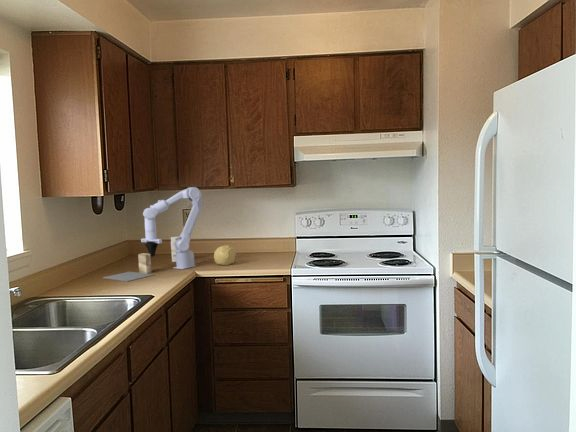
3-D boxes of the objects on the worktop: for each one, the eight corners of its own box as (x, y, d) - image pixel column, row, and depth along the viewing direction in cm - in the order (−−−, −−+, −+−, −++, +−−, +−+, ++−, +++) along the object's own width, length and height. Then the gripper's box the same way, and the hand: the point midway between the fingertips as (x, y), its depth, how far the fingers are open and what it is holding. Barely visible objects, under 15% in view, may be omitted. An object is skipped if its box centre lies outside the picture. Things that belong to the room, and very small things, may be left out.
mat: (129, 272, 264) (129, 271, 264) (154, 275, 252) (154, 274, 252) (102, 278, 251) (102, 277, 251) (127, 281, 239) (127, 280, 239)
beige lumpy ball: (230, 266, 268) (229, 246, 267) (210, 266, 272) (209, 246, 271) (239, 262, 279) (238, 243, 278) (220, 262, 283) (219, 243, 282)
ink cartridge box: (186, 259, 297) (185, 235, 296) (186, 261, 293) (185, 236, 291) (172, 260, 296) (170, 236, 295) (171, 262, 291) (170, 237, 290)
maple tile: (144, 272, 263) (142, 253, 262) (151, 272, 259) (150, 253, 258) (139, 273, 260) (138, 254, 260) (146, 274, 257) (145, 254, 256)
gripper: (135, 231, 263) (137, 256, 264) (153, 232, 255) (155, 258, 256) (146, 229, 269) (148, 254, 270) (164, 230, 260) (166, 256, 262)
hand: (152, 256), depth 263 cm, fingers closed
